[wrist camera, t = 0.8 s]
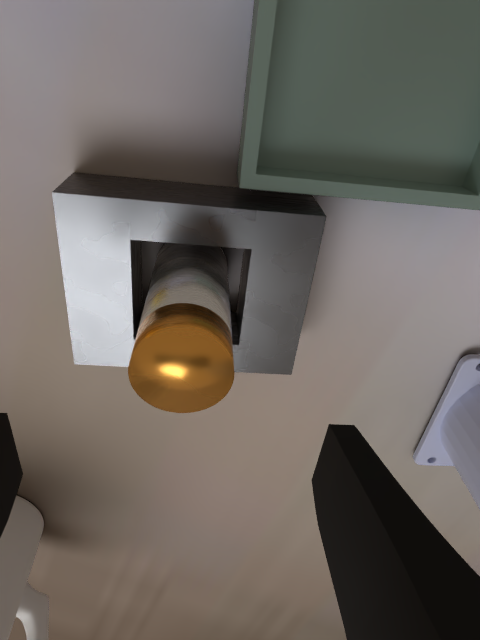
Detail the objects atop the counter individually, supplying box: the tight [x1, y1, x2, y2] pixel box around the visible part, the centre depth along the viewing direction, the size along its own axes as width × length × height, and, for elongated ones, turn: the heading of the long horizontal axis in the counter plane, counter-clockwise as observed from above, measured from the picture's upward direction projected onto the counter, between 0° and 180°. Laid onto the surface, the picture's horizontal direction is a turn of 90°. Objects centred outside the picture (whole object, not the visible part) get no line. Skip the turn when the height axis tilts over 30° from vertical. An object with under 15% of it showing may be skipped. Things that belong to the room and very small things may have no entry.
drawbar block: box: [52, 173, 326, 375], centre depth 17 cm, size 9×7×2 cm
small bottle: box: [128, 243, 234, 413], centre depth 15 cm, size 3×3×7 cm
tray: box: [237, 0, 480, 210], centre depth 13 cm, size 9×9×2 cm
